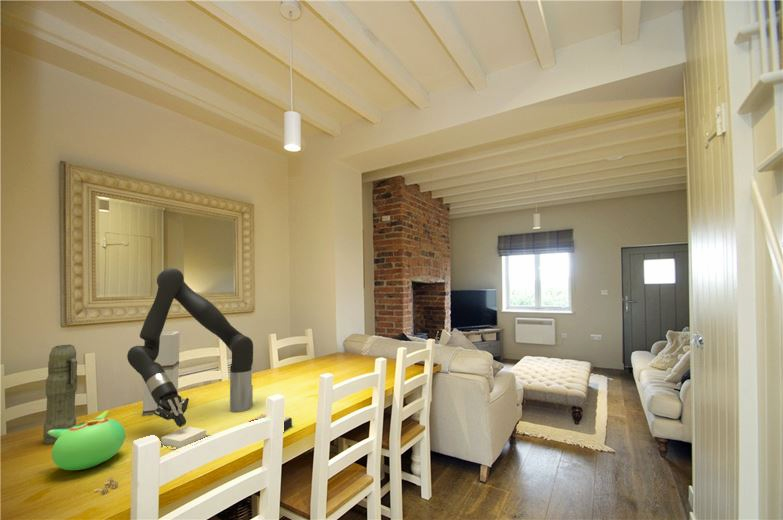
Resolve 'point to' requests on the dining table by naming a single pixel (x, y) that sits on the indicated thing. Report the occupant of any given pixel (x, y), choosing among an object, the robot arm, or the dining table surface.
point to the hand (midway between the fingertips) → (183, 425)
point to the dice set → (107, 485)
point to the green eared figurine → (87, 443)
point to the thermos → (60, 390)
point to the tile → (183, 437)
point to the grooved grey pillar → (164, 367)
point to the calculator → (286, 421)
